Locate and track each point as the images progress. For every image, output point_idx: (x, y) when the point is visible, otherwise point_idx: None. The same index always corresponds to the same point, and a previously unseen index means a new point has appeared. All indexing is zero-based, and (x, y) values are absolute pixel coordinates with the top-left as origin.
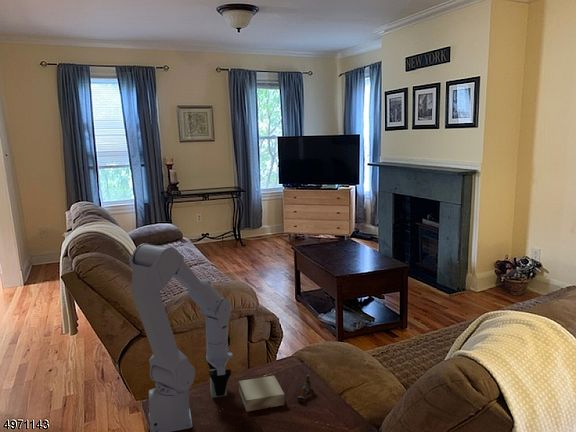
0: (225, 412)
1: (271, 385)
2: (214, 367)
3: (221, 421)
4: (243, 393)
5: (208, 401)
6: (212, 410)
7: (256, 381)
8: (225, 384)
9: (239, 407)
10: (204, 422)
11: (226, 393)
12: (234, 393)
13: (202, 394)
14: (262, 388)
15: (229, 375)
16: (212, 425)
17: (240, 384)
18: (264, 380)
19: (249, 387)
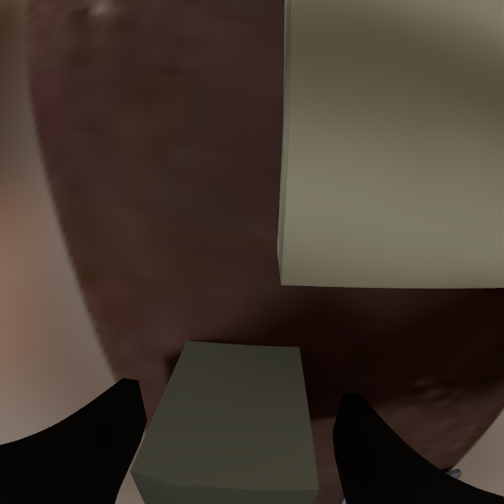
0: (462, 369)
1: (468, 4)
2: (100, 491)
3: (499, 384)
4: (500, 286)
5: (317, 439)
6: (409, 423)
7: (368, 84)
8: (408, 453)
9: (468, 292)
10: (460, 440)
11: (300, 359)
12: (293, 291)
13: None
14: (501, 96)
15: (498, 501)
16: (493, 413)
17: (364, 284)
18: (369, 4)
19: (459, 207)
